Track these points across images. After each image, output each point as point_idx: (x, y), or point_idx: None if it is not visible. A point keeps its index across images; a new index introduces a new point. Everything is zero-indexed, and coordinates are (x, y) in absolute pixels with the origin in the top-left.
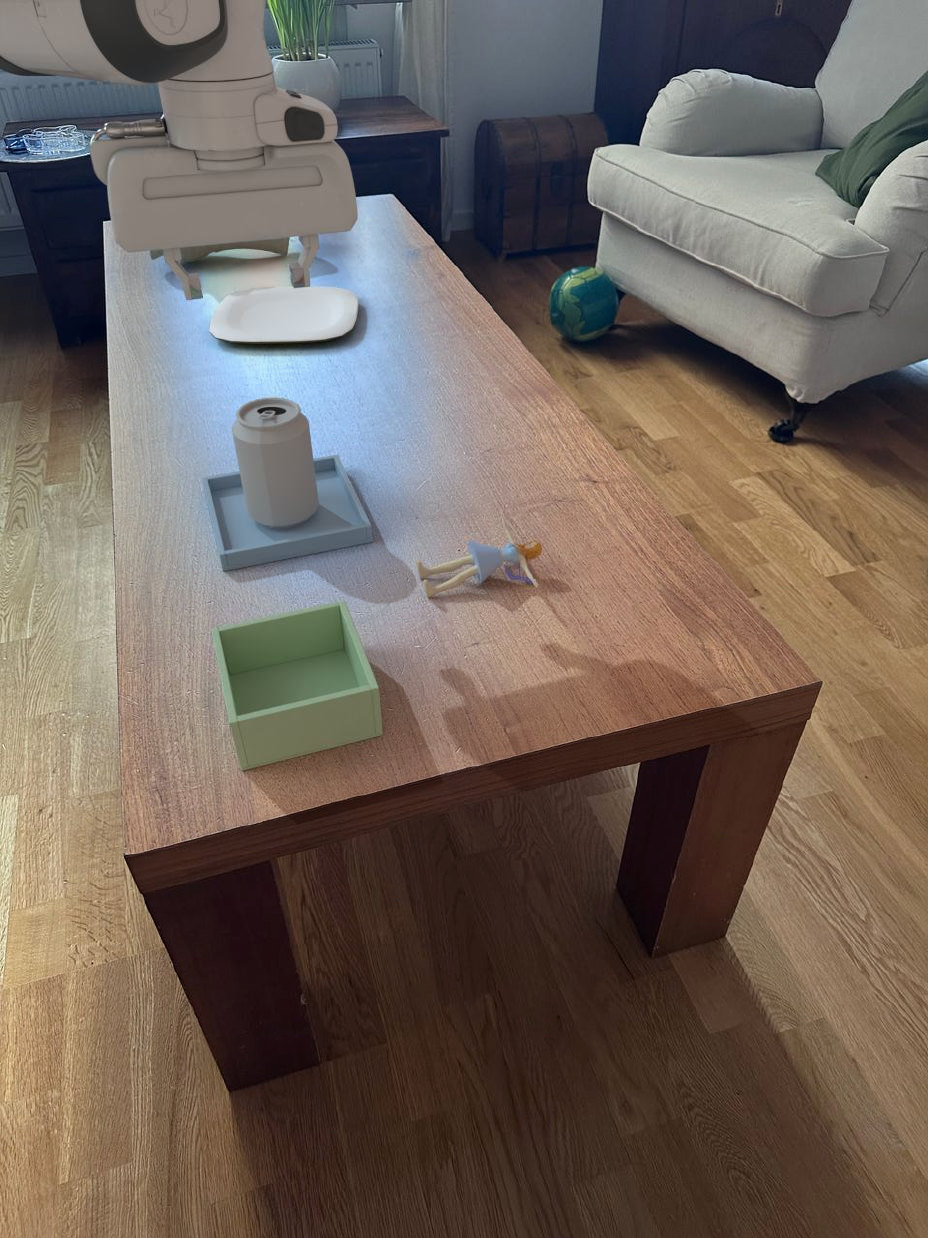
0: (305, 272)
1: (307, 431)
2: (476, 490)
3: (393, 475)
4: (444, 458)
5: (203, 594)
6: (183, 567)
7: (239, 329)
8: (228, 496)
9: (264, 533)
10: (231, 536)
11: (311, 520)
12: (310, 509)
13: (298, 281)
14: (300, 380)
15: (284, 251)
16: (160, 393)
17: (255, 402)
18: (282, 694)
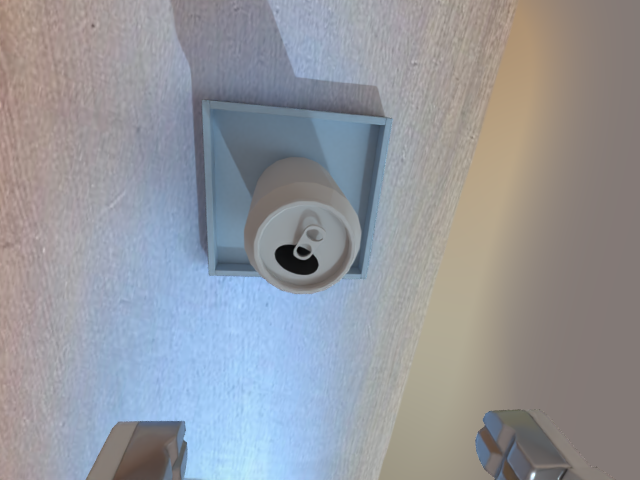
0: (106, 473)
1: (251, 209)
2: (40, 160)
3: (149, 233)
4: (74, 247)
5: (416, 82)
6: (419, 144)
7: None
8: None
9: (326, 165)
10: (361, 174)
11: None
12: (269, 167)
13: (156, 438)
14: (215, 438)
15: None
16: (352, 443)
17: (315, 286)
18: None
